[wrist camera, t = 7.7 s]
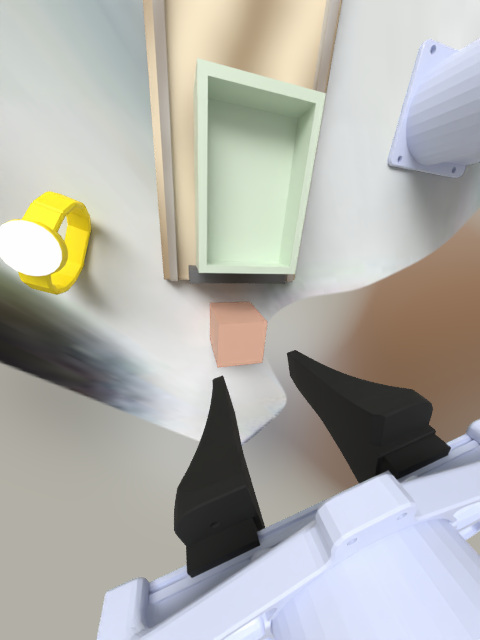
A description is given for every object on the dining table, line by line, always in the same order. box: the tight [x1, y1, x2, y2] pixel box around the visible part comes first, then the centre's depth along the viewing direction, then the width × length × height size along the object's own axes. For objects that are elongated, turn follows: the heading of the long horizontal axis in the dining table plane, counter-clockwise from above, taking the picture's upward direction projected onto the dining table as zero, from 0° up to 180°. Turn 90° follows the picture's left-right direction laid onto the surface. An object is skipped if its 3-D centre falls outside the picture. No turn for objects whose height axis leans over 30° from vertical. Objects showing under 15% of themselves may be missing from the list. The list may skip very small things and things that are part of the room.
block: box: [210, 302, 267, 367], centre depth 20 cm, size 4×4×5 cm
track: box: [143, 0, 342, 283], centre depth 14 cm, size 12×25×3 cm, turn 176°
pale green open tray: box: [193, 58, 326, 274], centre depth 15 cm, size 7×10×4 cm
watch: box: [0, 191, 91, 295], centre depth 13 cm, size 6×3×6 cm, turn 156°
